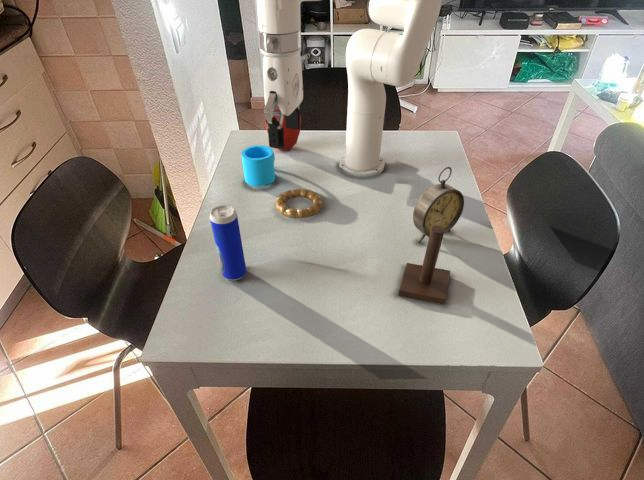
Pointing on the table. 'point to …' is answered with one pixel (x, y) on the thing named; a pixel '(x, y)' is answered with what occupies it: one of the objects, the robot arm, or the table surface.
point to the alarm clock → (438, 207)
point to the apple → (288, 134)
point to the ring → (302, 212)
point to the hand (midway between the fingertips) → (285, 137)
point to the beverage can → (228, 241)
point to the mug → (258, 165)
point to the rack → (427, 274)
